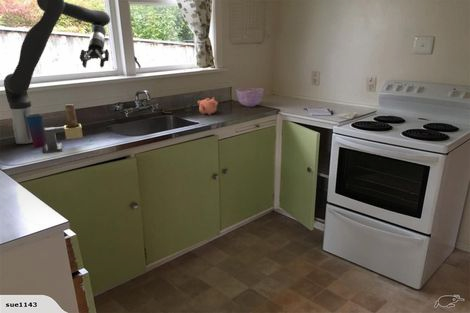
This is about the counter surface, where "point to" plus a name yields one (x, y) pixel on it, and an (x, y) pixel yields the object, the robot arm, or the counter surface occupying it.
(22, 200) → the counter surface
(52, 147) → the cup bracket
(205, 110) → the orange lumpy ball
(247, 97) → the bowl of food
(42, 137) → the cup
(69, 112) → the rail post
